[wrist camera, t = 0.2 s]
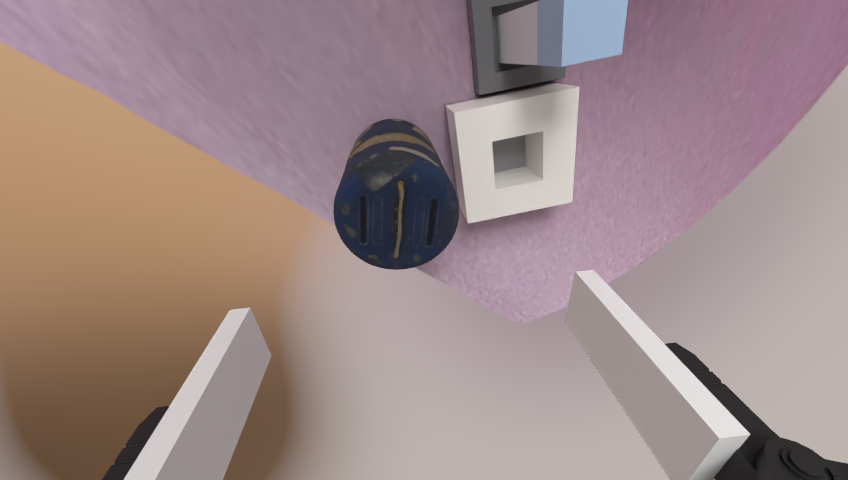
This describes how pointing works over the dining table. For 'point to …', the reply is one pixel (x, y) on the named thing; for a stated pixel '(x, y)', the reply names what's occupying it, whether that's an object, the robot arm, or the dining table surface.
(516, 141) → the block
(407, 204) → the canister
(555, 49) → the plug
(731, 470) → the robot arm
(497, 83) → the gray recessed square plate
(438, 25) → the dining table surface
